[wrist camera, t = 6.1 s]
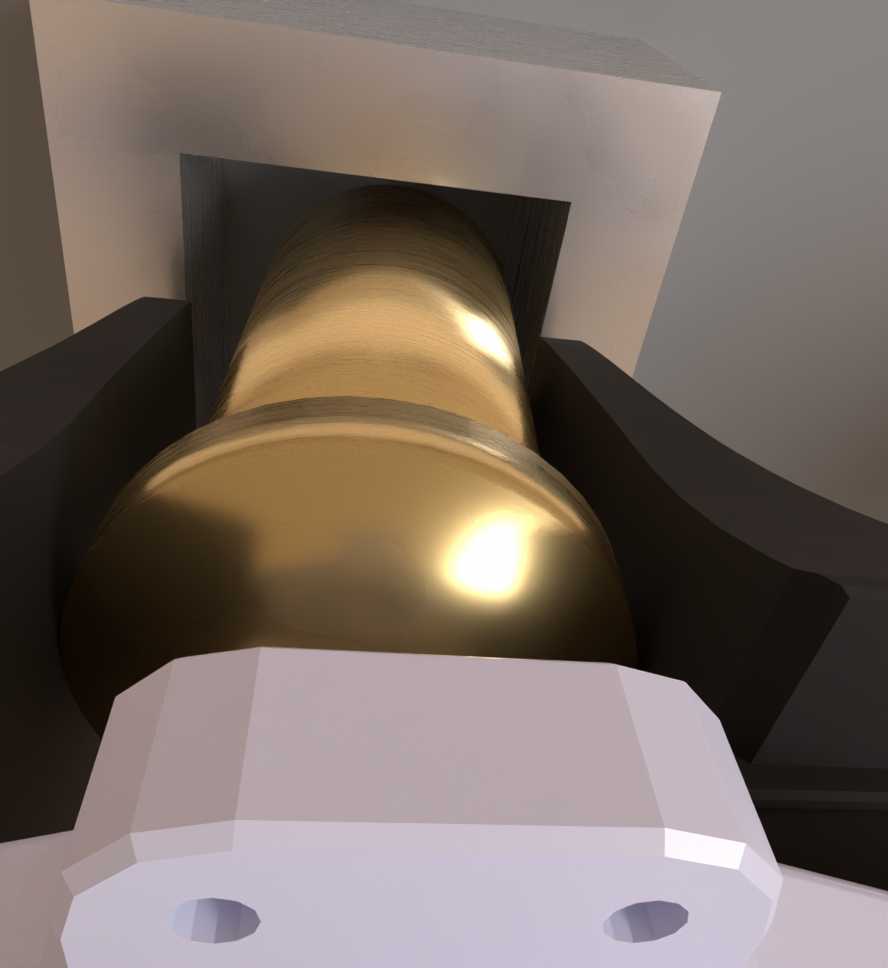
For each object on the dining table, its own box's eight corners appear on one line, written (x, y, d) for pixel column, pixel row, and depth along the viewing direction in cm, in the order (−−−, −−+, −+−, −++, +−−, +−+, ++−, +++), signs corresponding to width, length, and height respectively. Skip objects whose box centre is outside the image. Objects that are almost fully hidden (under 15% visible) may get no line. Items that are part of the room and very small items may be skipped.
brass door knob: (570, 177, 13) (721, 496, 6) (504, 447, 15) (561, 854, 9) (236, 125, 12) (17, 413, 6) (234, 415, 15) (89, 823, 9)
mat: (1334, -128, 13) (1363, -128, 13) (885, 586, 23) (894, 599, 22) (-220, -453, 10) (-245, -466, 10) (2, 531, 20) (-6, 544, 19)
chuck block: (641, 39, 14) (721, 92, 11) (537, 452, 19) (570, 574, 15) (115, -42, 13) (28, -11, 9) (152, 421, 18) (102, 545, 14)
